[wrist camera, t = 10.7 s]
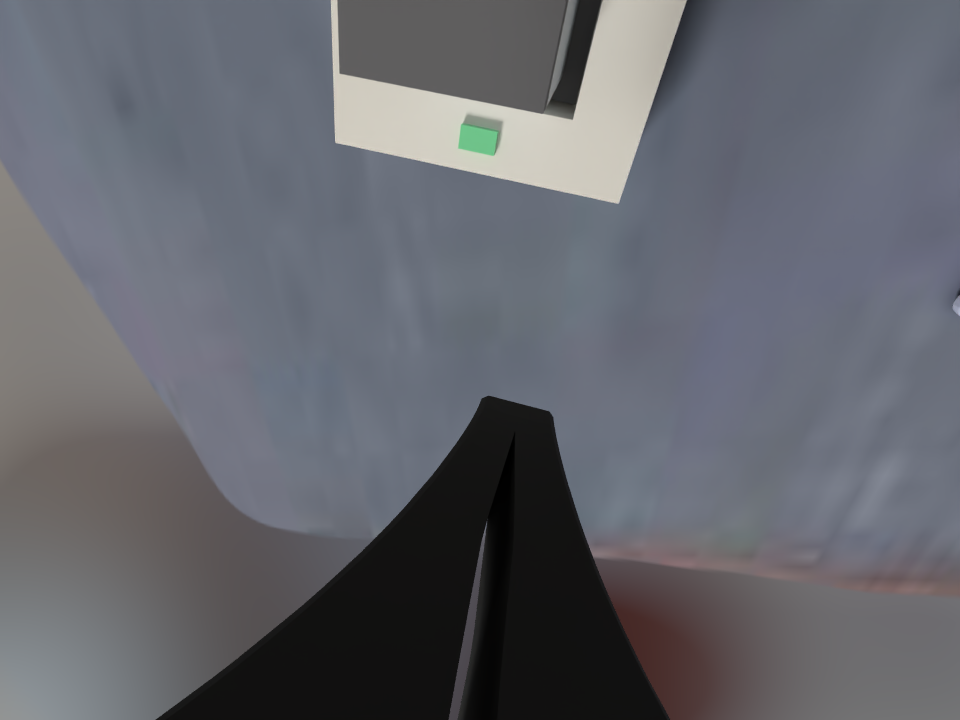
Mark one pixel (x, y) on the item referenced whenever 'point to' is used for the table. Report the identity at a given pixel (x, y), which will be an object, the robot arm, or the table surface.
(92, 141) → the table surface
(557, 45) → the plug
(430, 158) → the frame
